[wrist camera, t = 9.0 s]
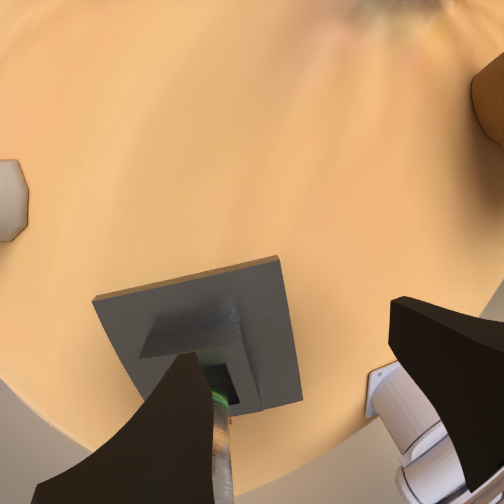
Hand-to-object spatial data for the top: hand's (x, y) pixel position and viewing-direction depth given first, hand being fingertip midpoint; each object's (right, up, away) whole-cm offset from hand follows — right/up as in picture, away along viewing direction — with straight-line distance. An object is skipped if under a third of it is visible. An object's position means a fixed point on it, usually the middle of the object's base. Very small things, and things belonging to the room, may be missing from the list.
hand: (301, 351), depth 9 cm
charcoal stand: (-5, -5, +12) cm, 14 cm away
